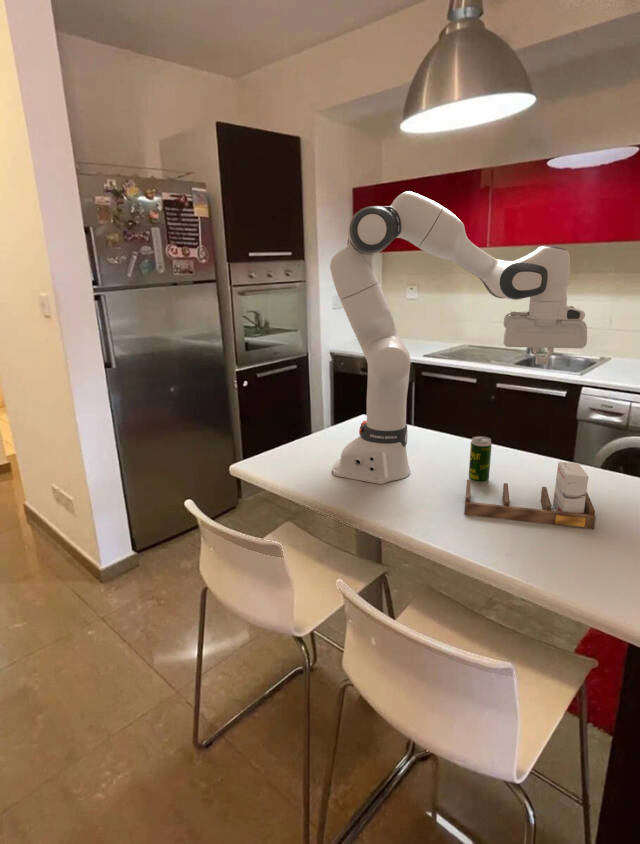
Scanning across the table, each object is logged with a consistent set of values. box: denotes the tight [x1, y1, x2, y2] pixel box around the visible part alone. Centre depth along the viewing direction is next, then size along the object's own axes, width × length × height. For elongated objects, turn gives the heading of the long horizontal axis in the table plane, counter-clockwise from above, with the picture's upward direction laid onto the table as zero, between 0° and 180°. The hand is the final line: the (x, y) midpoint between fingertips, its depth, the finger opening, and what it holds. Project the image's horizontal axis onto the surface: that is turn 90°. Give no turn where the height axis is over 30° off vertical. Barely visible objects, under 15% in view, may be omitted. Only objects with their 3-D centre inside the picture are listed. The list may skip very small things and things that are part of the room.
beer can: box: [468, 436, 492, 485], centre depth 139 cm, size 5×5×12 cm
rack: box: [463, 478, 596, 530], centre depth 123 cm, size 28×12×4 cm, turn 73°
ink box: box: [552, 461, 589, 514], centre depth 120 cm, size 9×5×12 cm, turn 168°
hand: (541, 364), depth 137 cm, fingers closed
